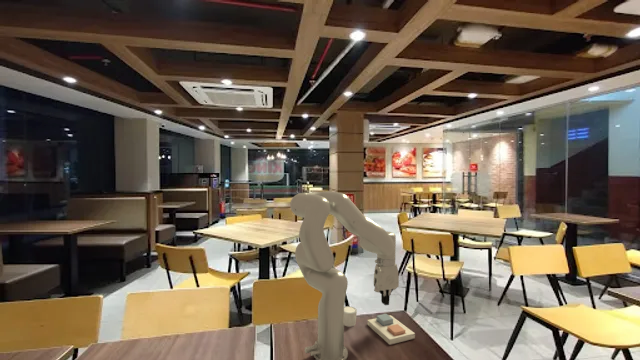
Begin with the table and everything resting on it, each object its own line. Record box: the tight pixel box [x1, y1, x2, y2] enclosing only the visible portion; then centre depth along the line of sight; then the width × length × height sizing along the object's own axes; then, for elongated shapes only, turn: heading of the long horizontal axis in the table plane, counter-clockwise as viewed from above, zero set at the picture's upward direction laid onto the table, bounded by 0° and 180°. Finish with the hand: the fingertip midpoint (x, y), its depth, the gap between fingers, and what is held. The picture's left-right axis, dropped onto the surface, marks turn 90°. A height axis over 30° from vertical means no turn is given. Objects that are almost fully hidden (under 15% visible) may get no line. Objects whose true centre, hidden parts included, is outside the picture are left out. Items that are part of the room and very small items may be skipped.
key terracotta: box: [387, 324, 405, 336], centre depth 121 cm, size 5×5×2 cm
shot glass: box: [344, 305, 358, 328], centre depth 131 cm, size 7×7×7 cm
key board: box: [367, 314, 416, 345], centre depth 125 cm, size 12×16×3 cm
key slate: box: [375, 313, 393, 326], centre depth 129 cm, size 5×5×2 cm
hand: (385, 303), depth 128 cm, fingers closed
